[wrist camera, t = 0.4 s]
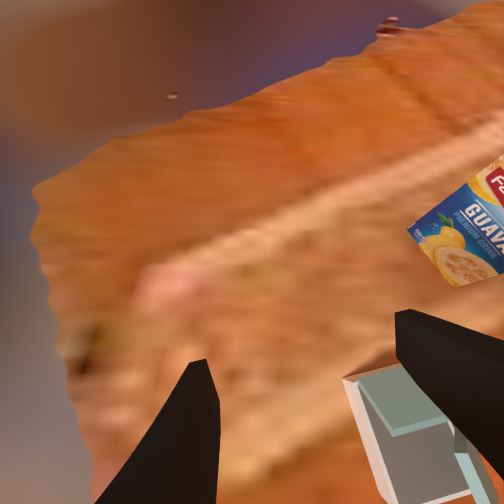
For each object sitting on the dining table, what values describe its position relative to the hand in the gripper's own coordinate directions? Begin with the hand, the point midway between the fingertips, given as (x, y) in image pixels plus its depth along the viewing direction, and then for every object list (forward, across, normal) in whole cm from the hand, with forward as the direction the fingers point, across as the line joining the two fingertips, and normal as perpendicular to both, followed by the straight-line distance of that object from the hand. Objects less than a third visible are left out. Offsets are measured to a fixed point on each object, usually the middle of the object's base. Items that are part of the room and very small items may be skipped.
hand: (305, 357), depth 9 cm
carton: (+14, -12, +25) cm, 31 cm away
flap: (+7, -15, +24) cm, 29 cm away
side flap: (+11, -12, +18) cm, 24 cm away
